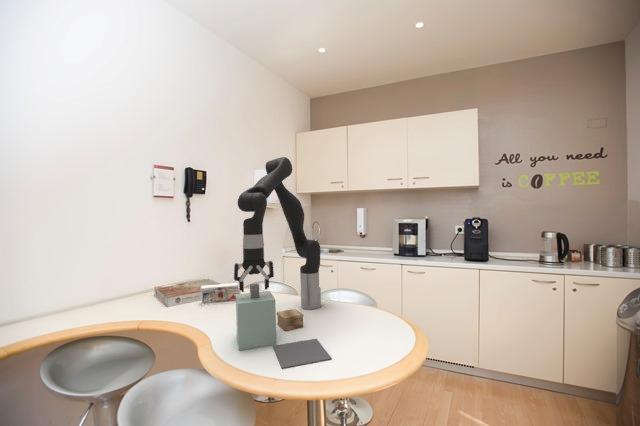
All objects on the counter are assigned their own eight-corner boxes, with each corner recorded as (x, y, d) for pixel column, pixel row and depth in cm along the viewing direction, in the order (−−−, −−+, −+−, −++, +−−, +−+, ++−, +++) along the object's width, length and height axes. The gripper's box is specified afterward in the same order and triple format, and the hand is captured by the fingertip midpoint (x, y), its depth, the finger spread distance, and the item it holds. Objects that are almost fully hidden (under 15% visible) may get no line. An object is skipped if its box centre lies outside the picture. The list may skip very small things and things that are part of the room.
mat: (316, 339, 110) (316, 338, 110) (331, 359, 95) (331, 358, 95) (273, 346, 105) (272, 345, 105) (281, 368, 90) (281, 367, 90)
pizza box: (167, 297, 154) (154, 287, 179) (167, 308, 154) (154, 296, 179) (227, 287, 175) (208, 278, 199) (227, 296, 175) (208, 286, 199)
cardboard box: (295, 320, 130) (295, 308, 130) (303, 327, 123) (303, 314, 123) (277, 324, 126) (276, 312, 126) (284, 331, 119) (284, 318, 119)
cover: (270, 331, 119) (269, 279, 119) (276, 344, 107) (275, 286, 107) (236, 336, 115) (235, 282, 115) (238, 350, 103) (237, 290, 103)
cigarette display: (200, 306, 155) (200, 288, 155) (202, 303, 160) (201, 285, 160) (240, 302, 160) (240, 284, 160) (240, 299, 165) (240, 282, 165)
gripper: (271, 244, 117) (271, 286, 117) (233, 246, 113) (233, 289, 113) (274, 246, 110) (275, 290, 110) (233, 248, 105) (234, 294, 105)
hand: (254, 290), depth 111 cm, fingers open, 8 cm apart
